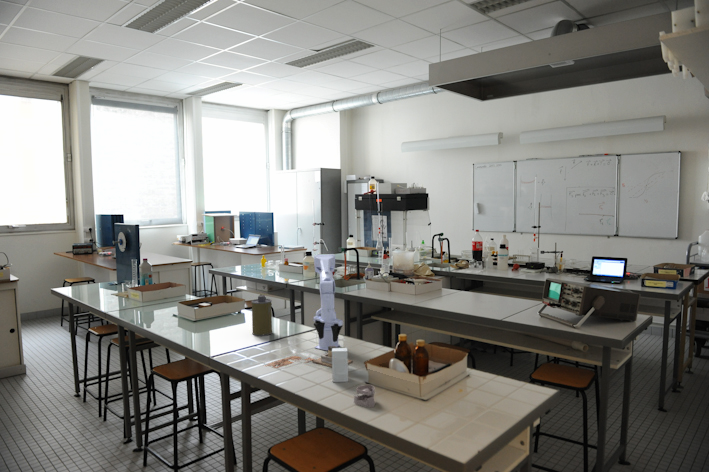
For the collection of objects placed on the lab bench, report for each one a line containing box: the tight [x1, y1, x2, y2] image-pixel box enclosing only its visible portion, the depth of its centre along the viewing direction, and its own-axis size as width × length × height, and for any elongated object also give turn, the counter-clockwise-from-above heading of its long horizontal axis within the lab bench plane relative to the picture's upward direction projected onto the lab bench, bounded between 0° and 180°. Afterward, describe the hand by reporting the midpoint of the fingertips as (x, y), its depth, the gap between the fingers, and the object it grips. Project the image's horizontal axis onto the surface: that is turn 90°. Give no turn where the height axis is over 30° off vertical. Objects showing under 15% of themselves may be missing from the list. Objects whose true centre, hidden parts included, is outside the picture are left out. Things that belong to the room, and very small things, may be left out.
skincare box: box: [331, 347, 349, 383], centre depth 180 cm, size 6×4×12 cm
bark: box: [262, 355, 316, 369], centre depth 200 cm, size 22×12×1 cm, turn 139°
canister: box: [251, 294, 273, 337], centre depth 247 cm, size 11×10×20 cm
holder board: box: [311, 352, 353, 368], centre depth 200 cm, size 10×14×3 cm
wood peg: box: [327, 346, 337, 357], centre depth 200 cm, size 4×4×6 cm
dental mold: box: [353, 384, 376, 408], centre depth 159 cm, size 8×7×5 cm
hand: (328, 339), depth 201 cm, fingers open, 7 cm apart
